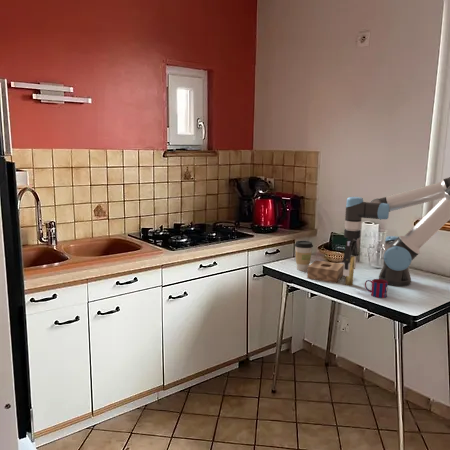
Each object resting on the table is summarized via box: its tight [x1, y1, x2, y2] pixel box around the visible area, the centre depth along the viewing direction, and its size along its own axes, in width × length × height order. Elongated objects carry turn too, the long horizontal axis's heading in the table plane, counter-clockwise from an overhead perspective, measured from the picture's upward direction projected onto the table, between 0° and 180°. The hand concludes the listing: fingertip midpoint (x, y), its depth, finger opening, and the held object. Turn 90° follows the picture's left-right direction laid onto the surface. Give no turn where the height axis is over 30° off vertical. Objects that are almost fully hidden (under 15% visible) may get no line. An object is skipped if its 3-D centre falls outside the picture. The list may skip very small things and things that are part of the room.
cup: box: [364, 278, 389, 299], centre depth 208 cm, size 7×10×7 cm
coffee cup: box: [294, 240, 314, 272], centre depth 246 cm, size 10×10×15 cm
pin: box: [344, 255, 355, 287], centre depth 221 cm, size 4×4×14 cm
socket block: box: [306, 259, 344, 283], centre depth 234 cm, size 15×14×6 cm
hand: (349, 272), depth 222 cm, fingers open, 13 cm apart
